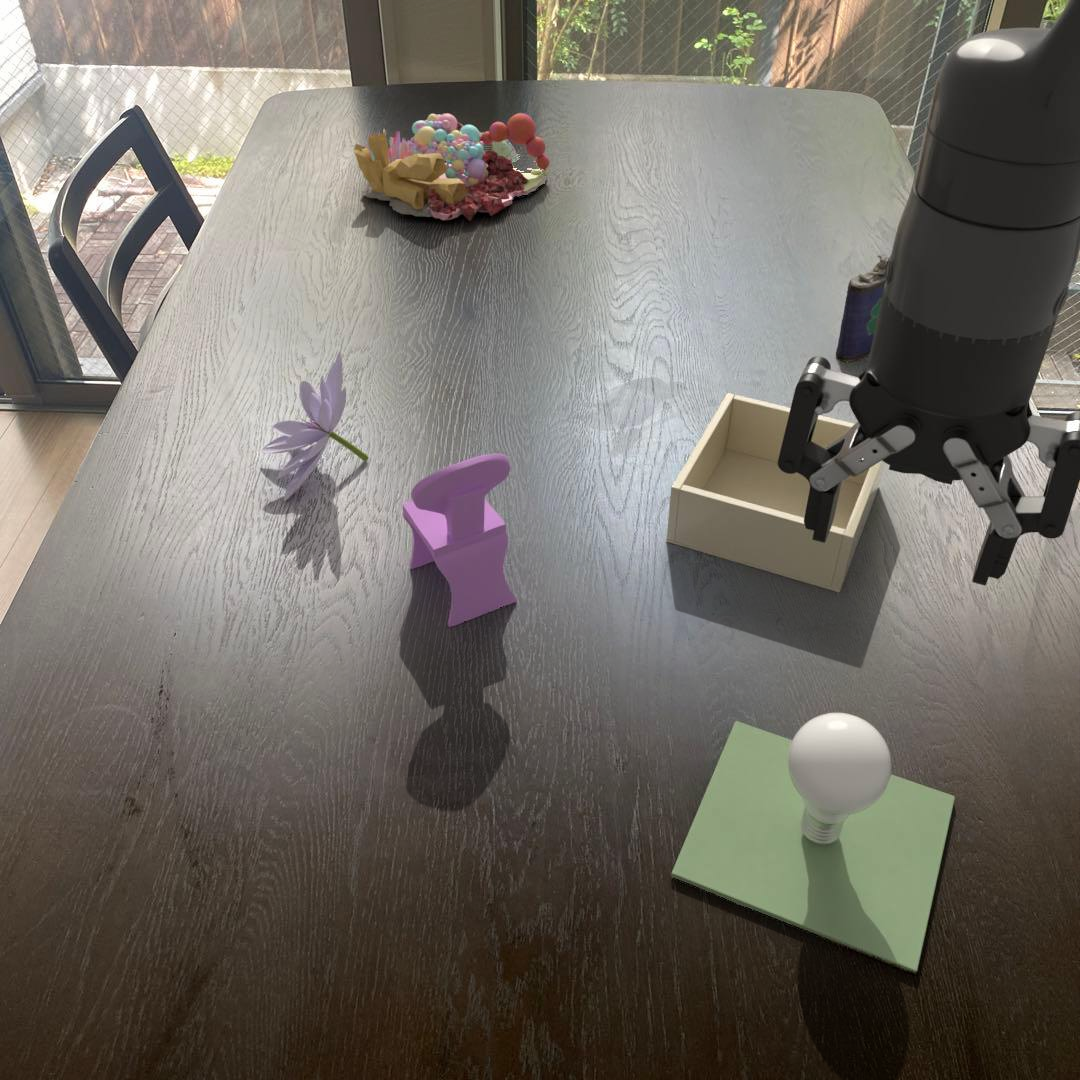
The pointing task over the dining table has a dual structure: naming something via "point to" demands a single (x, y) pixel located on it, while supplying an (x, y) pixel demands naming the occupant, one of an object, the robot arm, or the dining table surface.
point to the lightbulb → (837, 771)
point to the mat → (817, 852)
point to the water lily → (313, 427)
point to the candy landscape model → (451, 167)
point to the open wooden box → (765, 497)
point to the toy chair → (463, 534)
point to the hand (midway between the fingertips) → (899, 553)
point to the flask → (861, 313)
